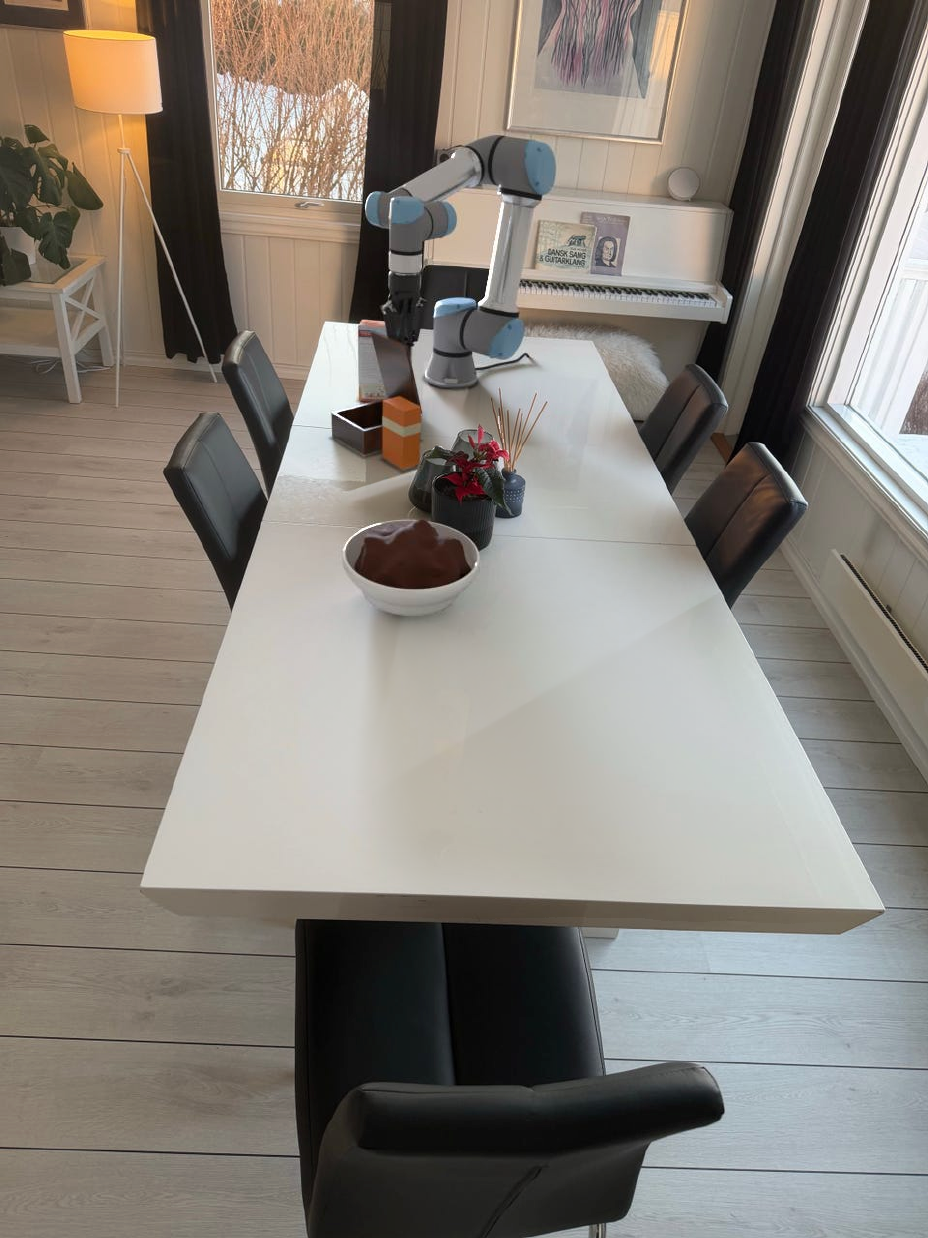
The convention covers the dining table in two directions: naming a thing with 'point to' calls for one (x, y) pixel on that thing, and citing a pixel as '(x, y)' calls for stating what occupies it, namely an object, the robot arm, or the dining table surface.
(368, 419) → the storage box
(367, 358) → the cracker box
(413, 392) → the lid
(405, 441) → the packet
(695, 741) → the dining table surface
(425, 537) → the bowl of chocolate pudding
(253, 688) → the dining table surface
